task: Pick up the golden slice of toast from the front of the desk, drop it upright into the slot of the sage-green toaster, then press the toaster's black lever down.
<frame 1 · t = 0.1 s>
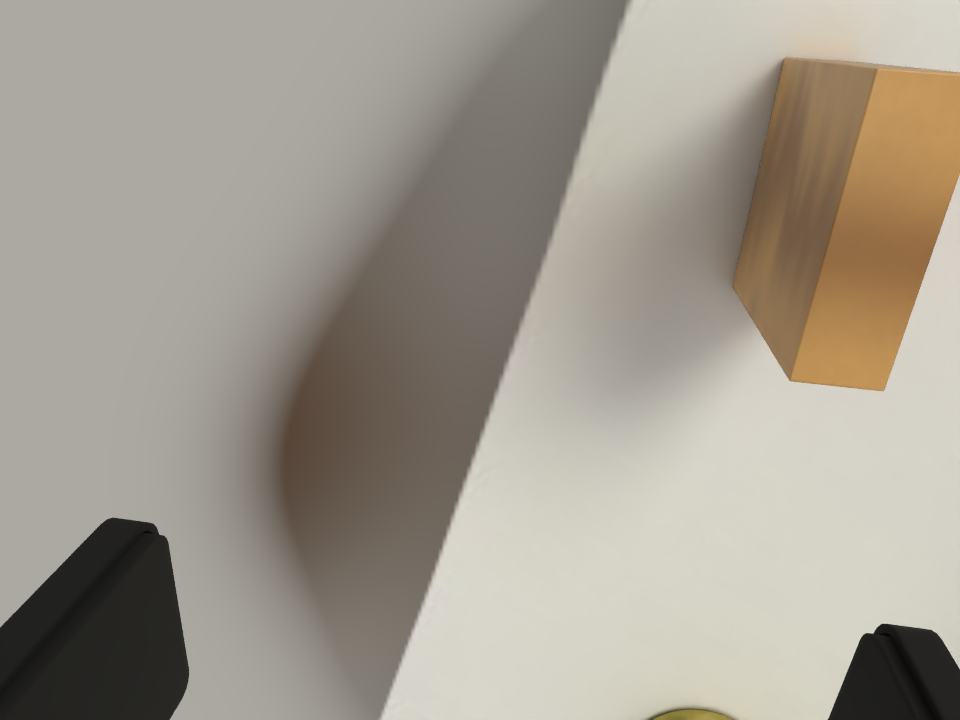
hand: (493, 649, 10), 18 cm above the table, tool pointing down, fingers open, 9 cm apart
toast: (793, 183, 23), on the table
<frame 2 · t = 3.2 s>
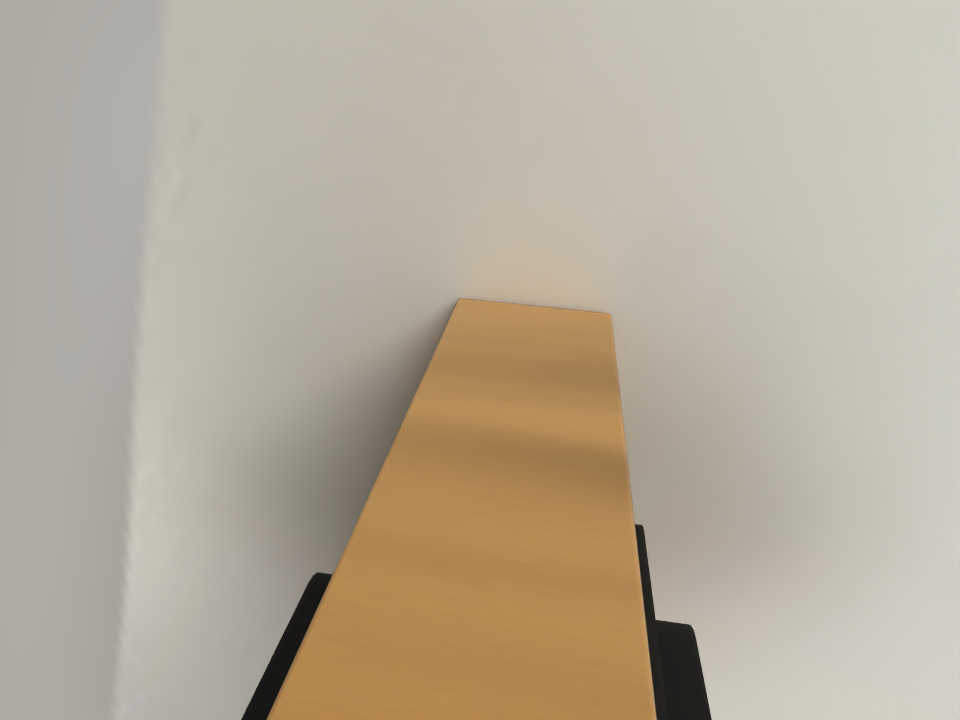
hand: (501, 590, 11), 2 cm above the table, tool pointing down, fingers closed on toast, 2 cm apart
toast: (514, 503, 13), on the table, touching gripper
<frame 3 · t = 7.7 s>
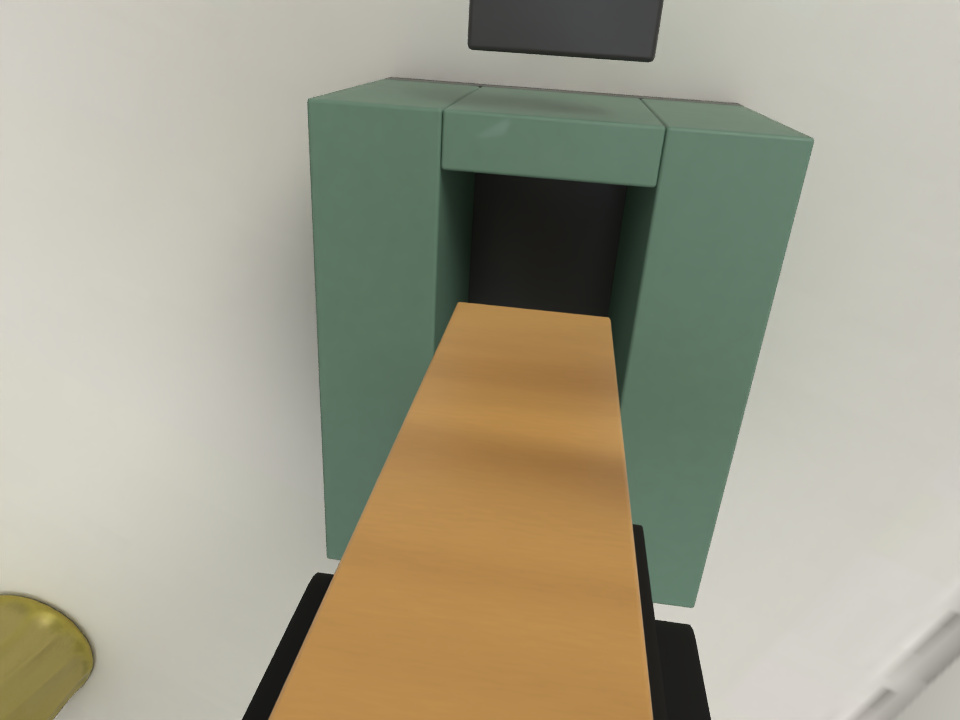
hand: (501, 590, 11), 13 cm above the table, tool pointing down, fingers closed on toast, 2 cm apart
toast: (513, 506, 13), point 11 cm above the table, touching gripper
toaster: (539, 288, 23), on the table
vase: (36, 638, 33), on the table
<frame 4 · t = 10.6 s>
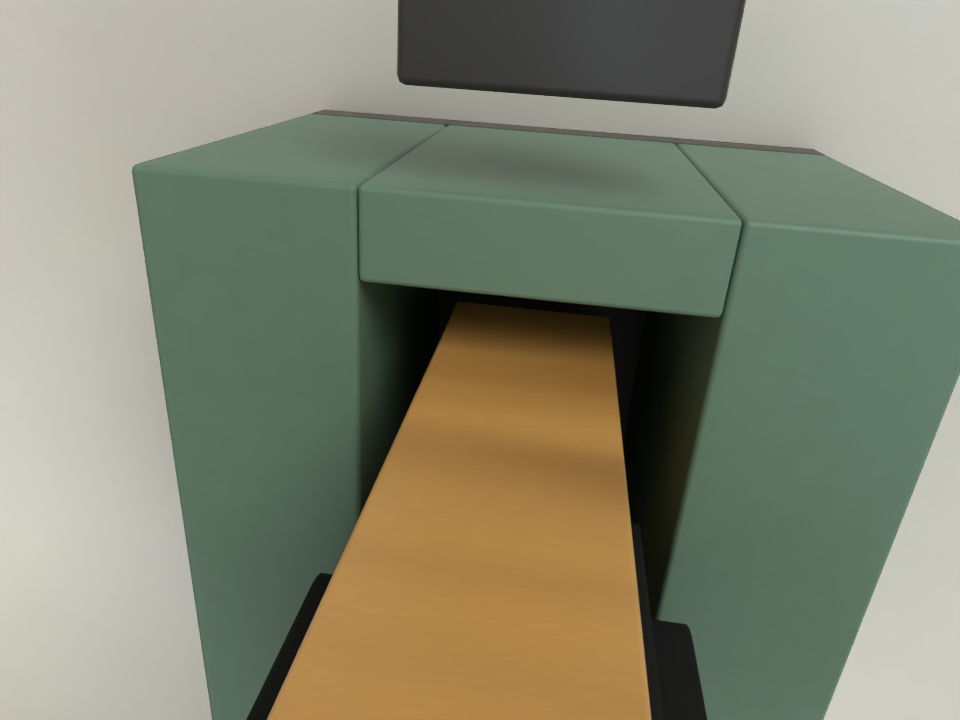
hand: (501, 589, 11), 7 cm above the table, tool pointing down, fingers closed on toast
toast: (512, 506, 13), point 5 cm above the table, touching gripper
toaster: (533, 390, 17), on the table
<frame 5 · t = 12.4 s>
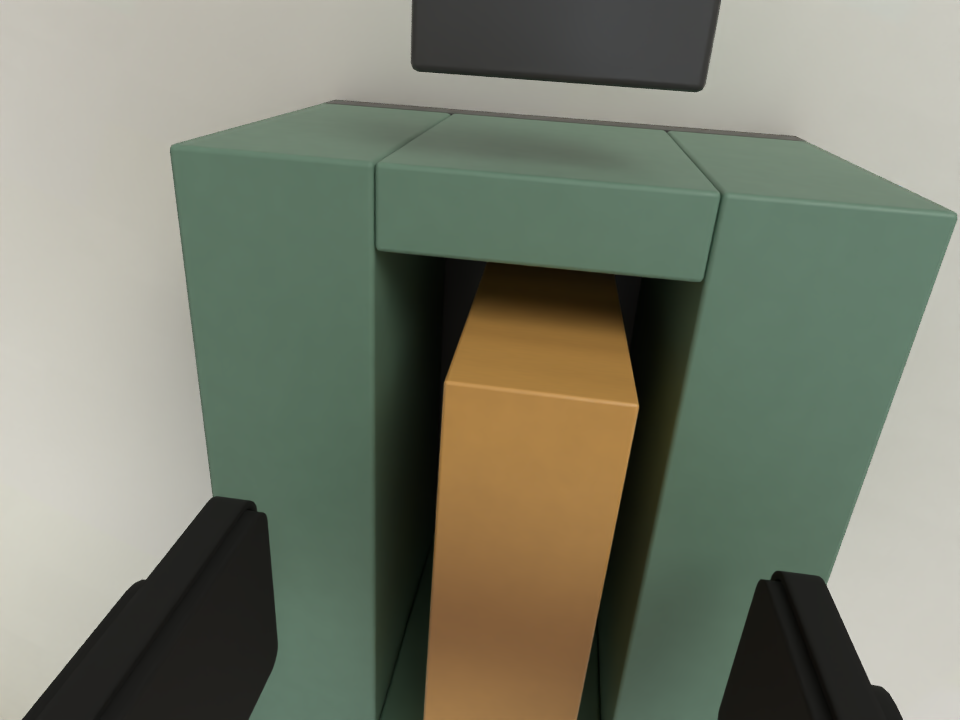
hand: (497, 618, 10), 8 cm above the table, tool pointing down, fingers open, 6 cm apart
toast: (534, 386, 17), point 1 cm above the table, touching toaster
toaster: (532, 367, 18), on the table
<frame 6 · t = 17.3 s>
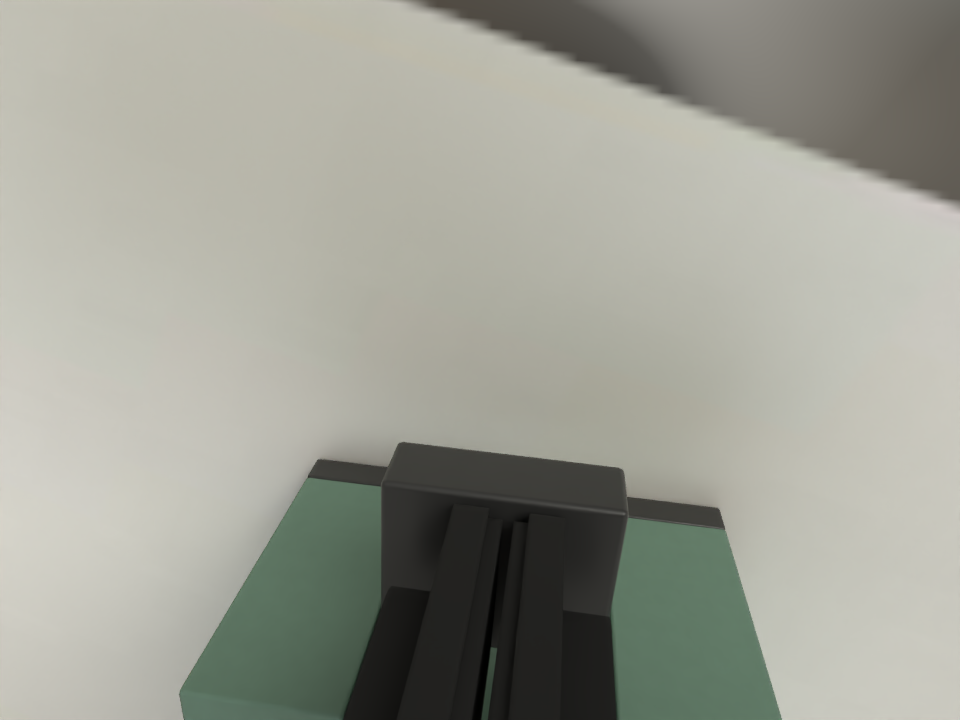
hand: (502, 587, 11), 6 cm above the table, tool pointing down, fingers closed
toaster lever: (499, 551, 11), point 6 cm above the table, slide at 0.6 cm, touching gripper
toaster: (496, 655, 20), on the table
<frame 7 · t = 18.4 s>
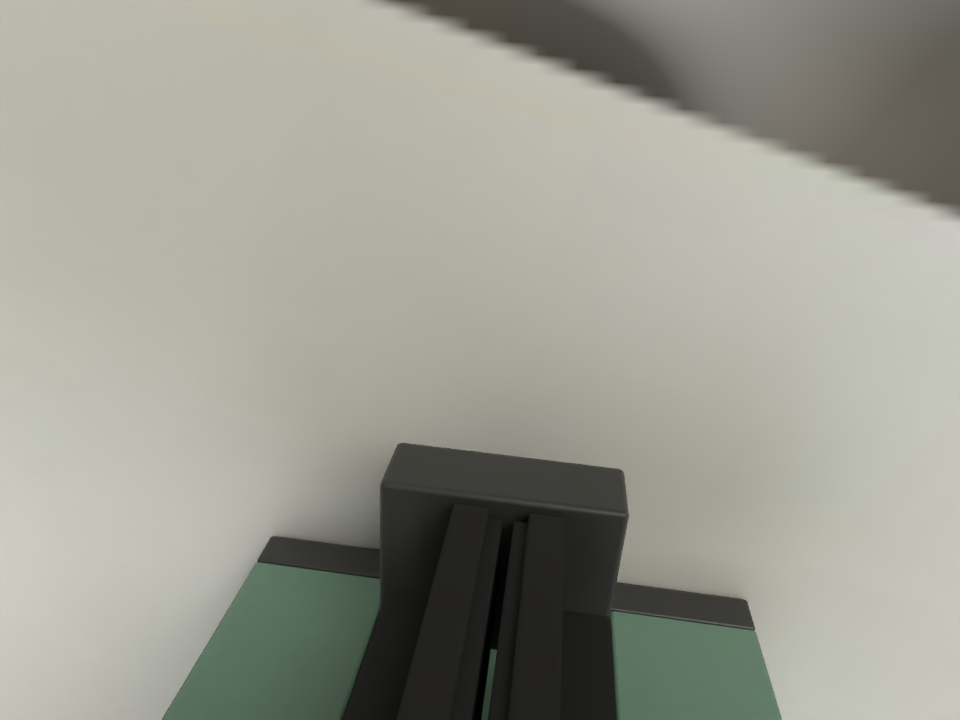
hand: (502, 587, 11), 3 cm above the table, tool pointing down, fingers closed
toaster lever: (498, 553, 11), point 3 cm above the table, slide at 3.6 cm, touching gripper
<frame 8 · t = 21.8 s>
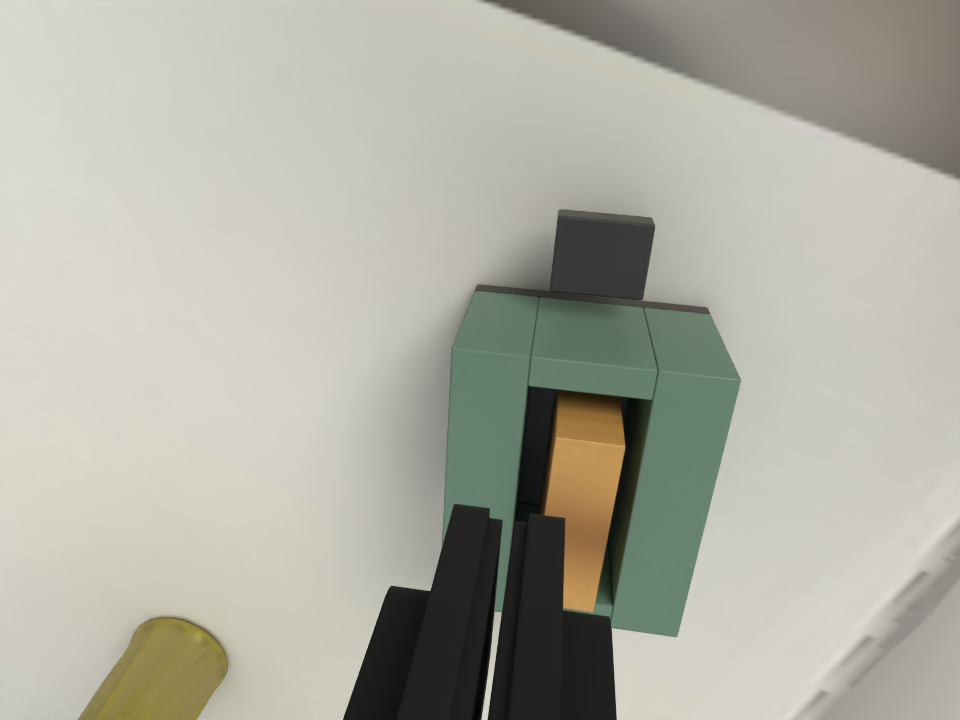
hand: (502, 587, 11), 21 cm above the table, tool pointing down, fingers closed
toast: (576, 425, 32), point 1 cm above the table, touching toaster
toaster lever: (600, 254, 27), point 3 cm above the table, slide at 3.6 cm
toaster: (574, 414, 33), on the table
vase: (183, 650, 44), on the table
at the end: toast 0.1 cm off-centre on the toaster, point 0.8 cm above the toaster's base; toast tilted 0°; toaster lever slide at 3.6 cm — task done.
